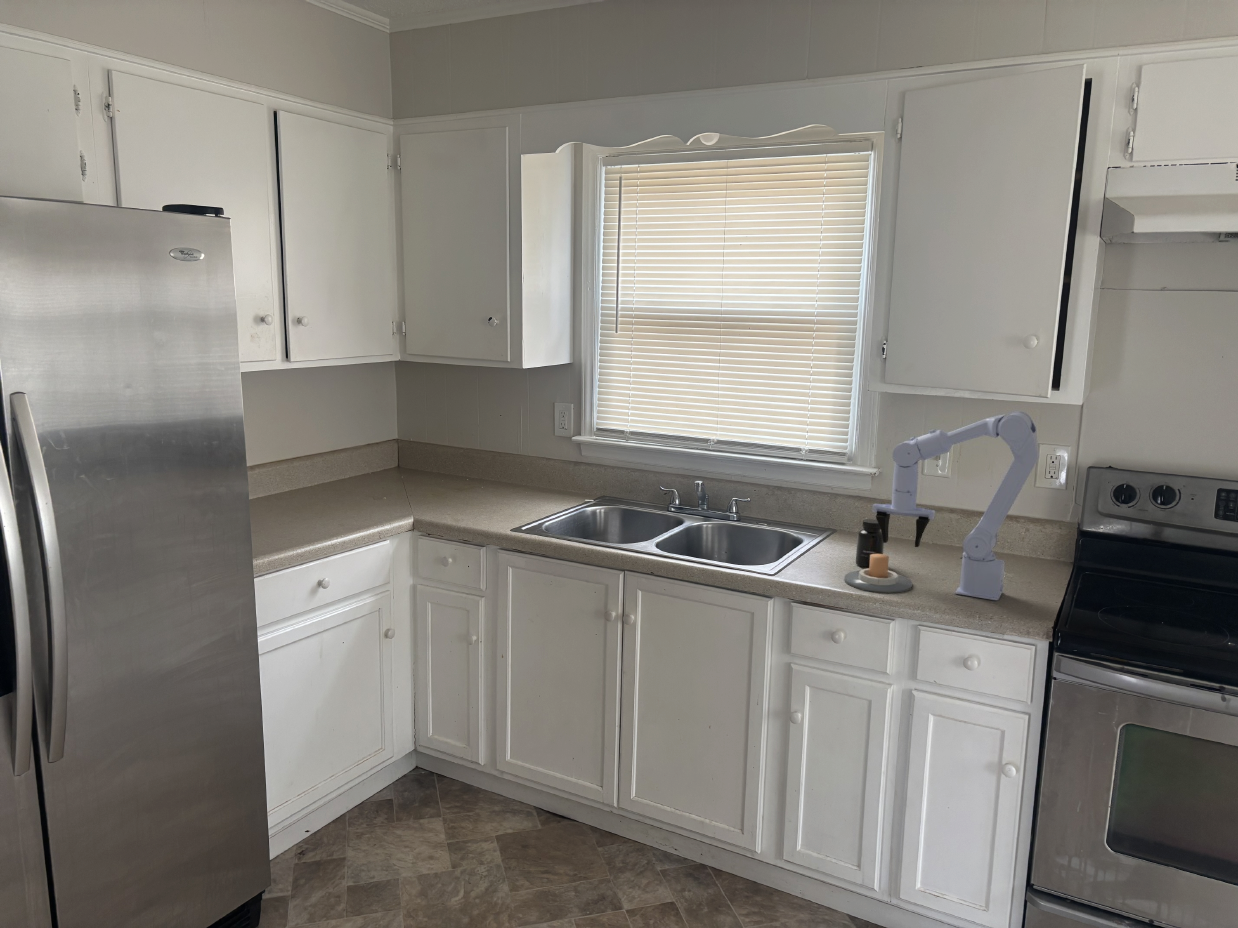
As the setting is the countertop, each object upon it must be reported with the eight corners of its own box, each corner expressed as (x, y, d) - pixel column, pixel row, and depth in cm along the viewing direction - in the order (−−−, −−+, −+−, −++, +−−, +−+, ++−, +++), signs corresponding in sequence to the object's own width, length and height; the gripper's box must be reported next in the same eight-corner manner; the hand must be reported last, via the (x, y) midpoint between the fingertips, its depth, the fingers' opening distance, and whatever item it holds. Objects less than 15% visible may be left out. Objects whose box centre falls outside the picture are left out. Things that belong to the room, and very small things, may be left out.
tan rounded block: (890, 579, 222) (892, 556, 221) (881, 583, 219) (882, 559, 218) (874, 575, 225) (876, 552, 224) (865, 579, 222) (866, 555, 221)
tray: (918, 579, 225) (919, 570, 225) (902, 597, 211) (903, 587, 211) (854, 569, 233) (855, 560, 233) (836, 585, 219) (836, 576, 219)
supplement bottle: (864, 569, 233) (867, 524, 231) (850, 562, 239) (853, 518, 237) (887, 568, 235) (890, 523, 233) (873, 560, 241) (876, 517, 239)
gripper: (938, 490, 221) (934, 544, 223) (878, 484, 228) (875, 536, 230) (933, 495, 215) (929, 550, 217) (871, 489, 222) (868, 542, 224)
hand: (901, 544), depth 223 cm, fingers open, 7 cm apart
